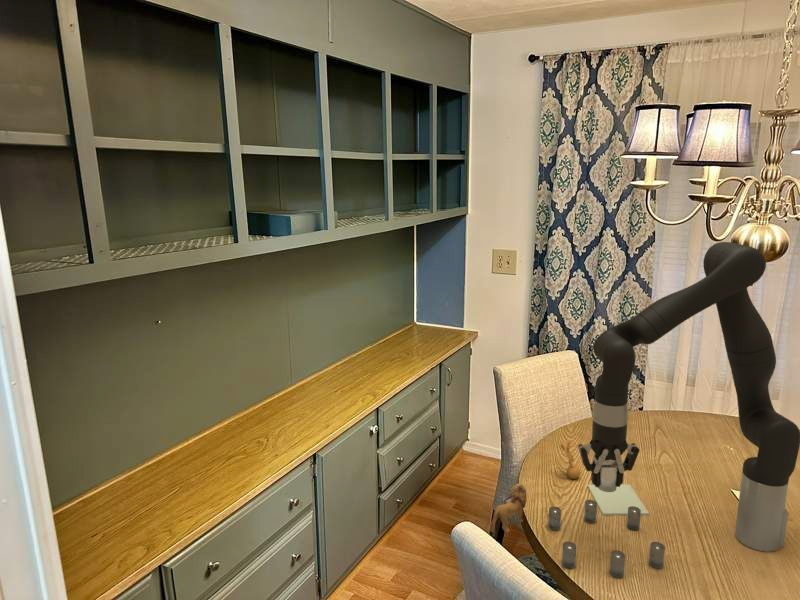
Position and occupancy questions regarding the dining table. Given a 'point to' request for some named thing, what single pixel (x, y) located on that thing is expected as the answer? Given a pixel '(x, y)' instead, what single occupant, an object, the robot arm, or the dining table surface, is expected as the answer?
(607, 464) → the clear rounded cylinder
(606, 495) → the sage mat
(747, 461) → the robot arm
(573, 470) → the figurine
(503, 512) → the lion figurine
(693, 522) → the dining table surface
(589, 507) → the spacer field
